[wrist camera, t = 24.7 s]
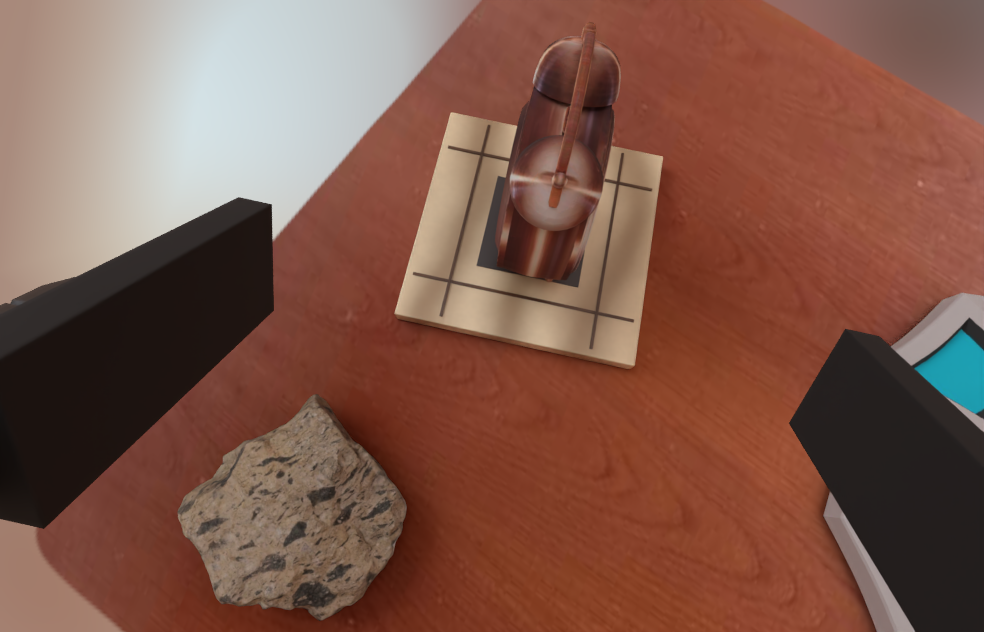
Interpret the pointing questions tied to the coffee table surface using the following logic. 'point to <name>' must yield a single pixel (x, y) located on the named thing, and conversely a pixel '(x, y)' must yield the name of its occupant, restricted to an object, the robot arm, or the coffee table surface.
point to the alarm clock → (559, 159)
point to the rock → (296, 517)
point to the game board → (515, 297)
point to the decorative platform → (964, 382)
